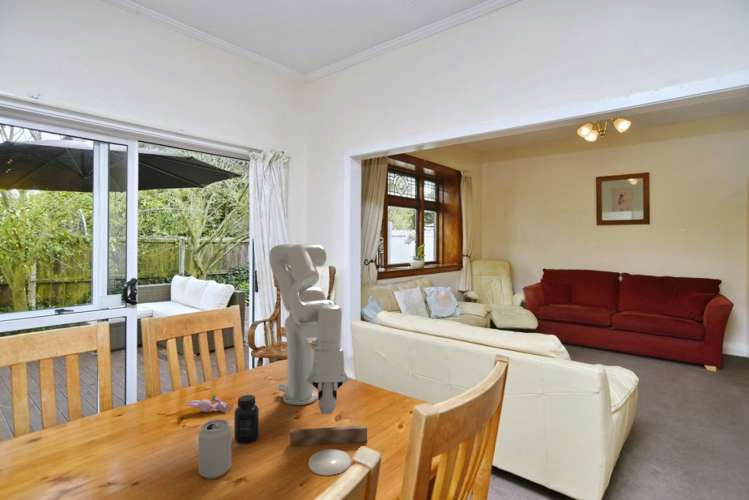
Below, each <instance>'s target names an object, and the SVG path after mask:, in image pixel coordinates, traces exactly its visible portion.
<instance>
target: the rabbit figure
mask: <svg viewBox="0 0 749 500" xmlns="http://www.w3.org/2000/svg"><path fill="white" fill-rule="evenodd" d="M211 397H212V398H211V401H210V400H209V399H202V400H199V399H193V400H190V401H187V403H186V404H185V405H184V407H188V406H190V407H194V408H196V409H199V411H201V412H204V413H209V412H210V411H211V409H212V410H213V411H214V412H216V411H219V412H221V413H225V412H227V410H228V409H229V412H231V410H232V409H233V406H234V404H233V403H226V402H225V401H221V400H220V399H219V398H217V397H218V395H216V394H214V395H212V396H211ZM212 401H213V402H214V404H212ZM230 406H231V407H230Z"/></svg>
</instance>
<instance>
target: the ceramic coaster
mask: <svg viewBox="0 0 749 500" xmlns="http://www.w3.org/2000/svg"><path fill="white" fill-rule="evenodd" d="M351 461H352V459H351V457H350V455H349V454H348V453H347V452H345V451H343V450H340V449H334V448H333V449H332V448H331V449H323V450H319V451H318V452H315V453H313V454H312V455H311V456H310V457H309V460H308V468H309V470H310V471H312V472H313V473H314V474H317V475H319V476H334V475H333V474H336V475H338V474H337V473H339V474H341V473H344V472H345V471H346V470H348V469H349V468H350V466H351Z"/></svg>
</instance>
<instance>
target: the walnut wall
mask: <svg viewBox="0 0 749 500" xmlns="http://www.w3.org/2000/svg"><path fill="white" fill-rule="evenodd" d="M364 441H365V442H368V425H353V426H352V425H351V426H333V427H332V426H331V427H319V428H317V427H315V428H301V429H300V428H298V429H297V428H296V429H290V430H289V447H300V446H316V445H317V446H318V445H320V446H321V445H331V444H348V443H349V444H351V443H365V442H364Z"/></svg>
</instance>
